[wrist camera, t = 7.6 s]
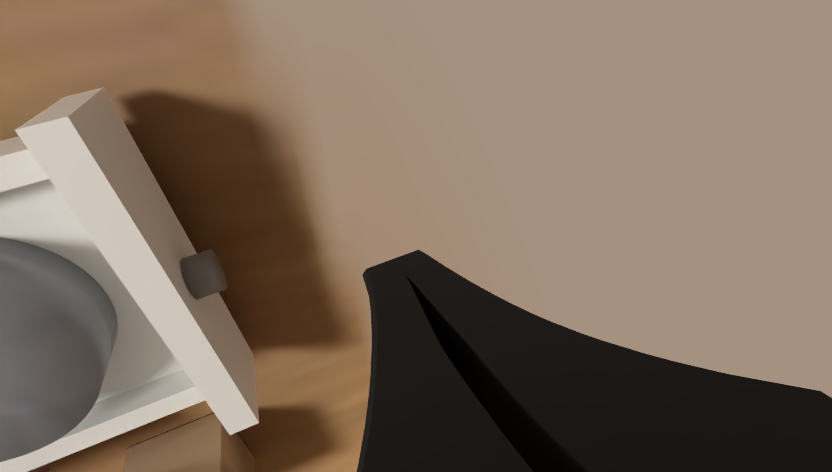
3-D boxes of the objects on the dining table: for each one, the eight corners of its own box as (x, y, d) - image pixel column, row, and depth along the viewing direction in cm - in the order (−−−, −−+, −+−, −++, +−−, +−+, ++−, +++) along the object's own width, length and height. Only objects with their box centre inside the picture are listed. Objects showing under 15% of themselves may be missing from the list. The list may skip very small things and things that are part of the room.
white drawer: (274, 348, 16) (282, 412, 14) (-31, 467, 14) (-85, 568, 12) (136, 79, 11) (110, 105, 8) (-388, 207, 9) (-625, 291, 6)
